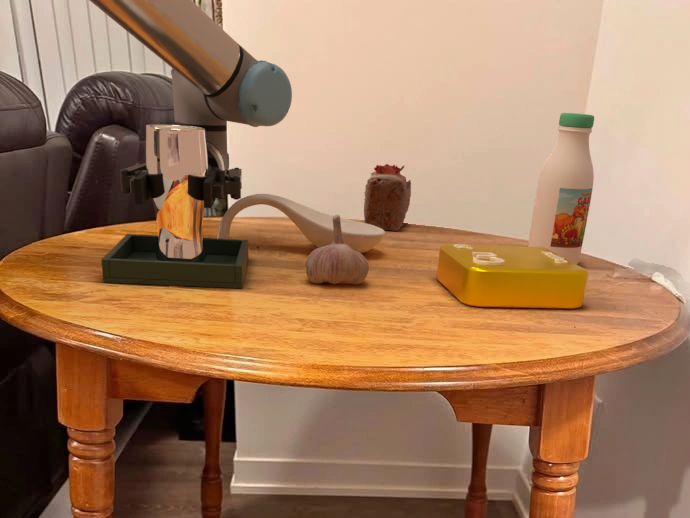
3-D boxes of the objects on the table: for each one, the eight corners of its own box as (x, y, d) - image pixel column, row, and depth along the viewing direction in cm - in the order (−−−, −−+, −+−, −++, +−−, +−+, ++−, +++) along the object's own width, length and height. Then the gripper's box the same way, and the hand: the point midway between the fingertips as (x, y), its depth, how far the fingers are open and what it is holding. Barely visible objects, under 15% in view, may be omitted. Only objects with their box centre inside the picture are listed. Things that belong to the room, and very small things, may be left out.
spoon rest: (381, 246, 117) (384, 196, 114) (386, 263, 107) (390, 208, 104) (223, 237, 116) (222, 186, 112) (213, 253, 105) (212, 197, 102)
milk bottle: (526, 265, 112) (550, 112, 103) (524, 255, 119) (547, 110, 110) (580, 270, 111) (610, 116, 102) (576, 260, 118) (603, 115, 109)
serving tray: (103, 282, 88) (101, 259, 87) (128, 254, 102) (126, 233, 101) (242, 288, 90) (241, 266, 88) (248, 259, 103) (248, 239, 102)
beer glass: (182, 270, 91) (176, 130, 84) (139, 260, 94) (130, 124, 87) (222, 261, 96) (219, 129, 89) (180, 252, 99) (174, 123, 92)
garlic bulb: (295, 284, 93) (297, 214, 89) (320, 273, 99) (323, 207, 95) (354, 293, 91) (358, 222, 87) (376, 281, 97) (380, 215, 93)
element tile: (587, 310, 91) (596, 268, 89) (465, 307, 88) (470, 264, 86) (540, 279, 104) (547, 243, 102) (432, 276, 101) (436, 239, 99)
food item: (364, 216, 142) (368, 158, 137) (408, 219, 142) (413, 161, 137) (360, 229, 130) (364, 166, 125) (408, 232, 130) (414, 169, 125)
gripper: (266, 202, 110) (261, 232, 90) (123, 195, 108) (84, 223, 88) (267, 145, 106) (261, 162, 86) (118, 136, 104) (77, 152, 84)
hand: (172, 193), depth 87 cm, fingers closed on beer glass, 7 cm apart
